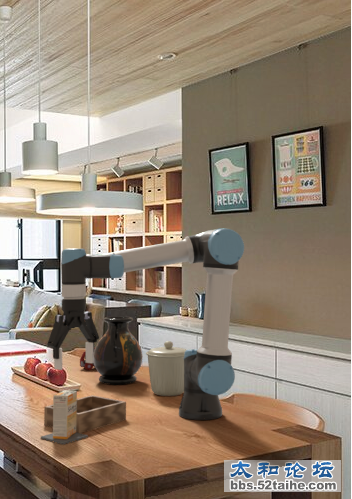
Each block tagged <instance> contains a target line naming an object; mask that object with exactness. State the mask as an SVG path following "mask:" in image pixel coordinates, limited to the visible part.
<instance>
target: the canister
mask: <svg viewBox="0 0 352 499" xmlns="http://www.w3.org/2000/svg"><path fill="white" fill-rule="evenodd" d="M186 350H187V348H184V347H175V346H174V343H173V342H172V341H170V340H166V341H165V342H164V343H163V346H159V347H154V348H151V349H149V350H148V351H146V352H145V355H146V356H147V362H148V363H147V364H148V373H149V380H150V388H151V391H152V392H153V394H155V395H157V396H161V397H173V396H174V397H175V396H179V395H183V394H184V353H185V351H186Z"/></svg>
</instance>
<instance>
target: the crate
mask: <svg viewBox="0 0 352 499" xmlns="http://www.w3.org/2000/svg"><path fill="white" fill-rule="evenodd" d="M43 409H44V412H43V414H44V415H43V417H44V418H43V419H44V420H43V421H44V422H43V423H44V424H43V425H44V426H46V427H47V426H48V427H49V428H53V404H50V405H45V406H44V408H43ZM126 420H127V401H125V400H119V399H113V398H108V397H102V396H99V395H98V396H97V395H94V394H91V395H88V396H84V397H80V398H77V414H76V432H77V433H81V434H83V433H85V431H86V432H88V431H92V430H96V429H99V428H103V427H106V426H109V425H112V424H115V423H119V422H122V421H126Z"/></svg>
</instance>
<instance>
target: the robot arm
mask: <svg viewBox="0 0 352 499" xmlns="http://www.w3.org/2000/svg"><path fill="white" fill-rule="evenodd" d="M244 252H245V243H244V240H243V238H242V237H241V235H240V233H239V232H237V231H235V230H234V229H231V228H227V227H225V228H223V227H222V228H221V227H219V228H215V229H209V230H206V231H203V232H200V233H198V234H191V235H188V236H185V237H184V239H181V240H176V241H175V240H174V241H169V242H164V243H159V244H153V245H147V246H141V247H135V248H128V249H124V250H123V249H122V250H118V251H113V252H112V251H111V252H105V253H98V254H87V252H86V249H85V248H65V249H62V251H61V261H60V266H61V268H60V269H61V270H60V272H61V274H60V275H61V298H62V299H61V310H62V313H63V315H62V314H61V315H60V314H55V316H54V324H53V326H52V330H51V332H50V335H49V338H48V341H47V344H46V345H47V347H49V348H51V349H52V358H53V359H54V362H53V364H54V365H53V366H54V370H58V371H62V370H63V348H62V347H61V346H62V345H63V343H64V341H65V339H66V337H67V335H68V333H69V331H71V330H72V329H76V328H78V329H79V330H80V332H81V333H82V335H83V337H84V338H85V339H86V341H85V351H86V363H93V352H94V348H95V343H98V341H99V340H100V336H99V333H98V330H97V327H96V324H95V321H94V320H93V313H92V312H91V311H86V309H87V300H86V298H85V297H86V296H87V286H86V285H87V283H86V282H87V280H89V279H120V278H123V277H124V273H130V272H134V271H140V270H141V271H142V270H146V269H152V268H159V267H163V266H169V265H175V264H182V263H186V262H188V263H189V264H190V265H193V264H196V263H197V264H200V263H202V269H203V270H204V271H205V272H206V281H205V282H206V285H205V297H204V310H203V311H204V312H203V322H202V323H203V324H202V339H201V340H202V341H201V346H200V347H198V348H194V349H189V348H188V349H186V351H185V353H184V392H183V393H182V395H183V396H182V398H181V400H180V404H179V407H178V415H179V417H181V418H184V419H189V420H196V421H207V420H209V421H210V420H214V419H219V418H221V417H222V416H223V407H222V404H221V401H220V398H219V396H220V395H223V394H225V393H226V392H228V391H229V390H230V389H231V388H232V387H233V385H234V383H235V379H236V374H235V369H234V368H233V366H232V361H233V360H232V358H233V356H232V355H233V353H232V352H231V350H230V349H229V336H230V322H231V320H230V319H231V308H232V293H233V282H234V281H233V280H234V275H235V274H236V273H237V272H238V271H239V265H240V264H239V261H240V260H241V258H242V257H243V255H244Z"/></svg>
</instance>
